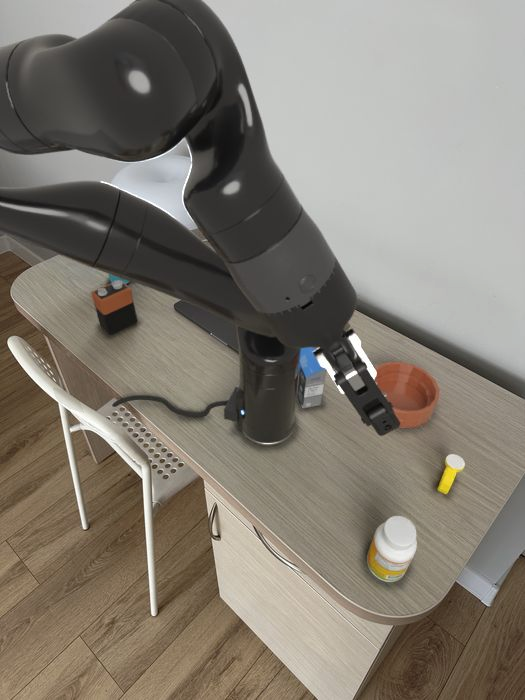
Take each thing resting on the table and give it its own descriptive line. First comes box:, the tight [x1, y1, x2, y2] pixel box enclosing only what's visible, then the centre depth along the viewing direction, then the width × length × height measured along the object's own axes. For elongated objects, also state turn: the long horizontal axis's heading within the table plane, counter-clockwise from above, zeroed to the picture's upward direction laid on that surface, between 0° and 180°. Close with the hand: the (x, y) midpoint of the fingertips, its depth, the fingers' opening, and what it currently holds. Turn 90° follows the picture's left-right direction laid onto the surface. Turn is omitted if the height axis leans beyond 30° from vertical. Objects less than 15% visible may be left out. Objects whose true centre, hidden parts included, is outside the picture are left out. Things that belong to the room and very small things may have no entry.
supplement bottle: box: [366, 515, 418, 583], centre depth 64 cm, size 5×5×10 cm
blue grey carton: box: [297, 347, 327, 409], centre depth 87 cm, size 9×4×12 cm, turn 14°
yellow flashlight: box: [437, 453, 466, 495], centre depth 75 cm, size 6×3×6 cm, turn 149°
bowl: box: [374, 361, 441, 429], centre depth 87 cm, size 12×12×4 cm
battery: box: [91, 280, 138, 336], centre depth 100 cm, size 4×7×10 cm, turn 131°
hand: (372, 398), depth 47 cm, fingers open, 8 cm apart
